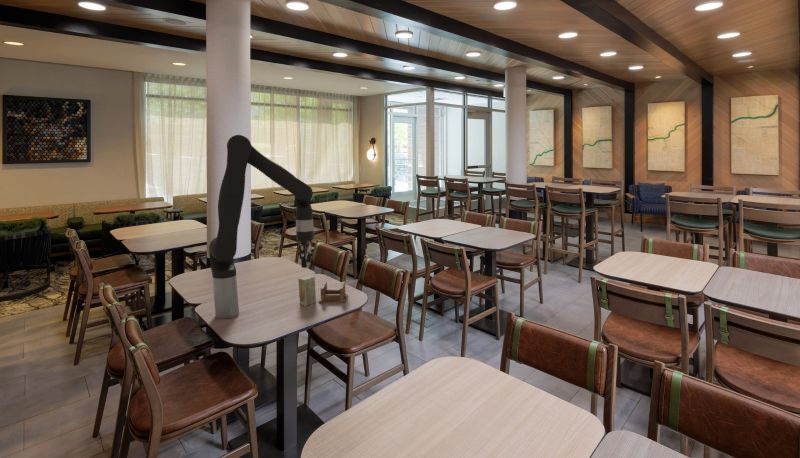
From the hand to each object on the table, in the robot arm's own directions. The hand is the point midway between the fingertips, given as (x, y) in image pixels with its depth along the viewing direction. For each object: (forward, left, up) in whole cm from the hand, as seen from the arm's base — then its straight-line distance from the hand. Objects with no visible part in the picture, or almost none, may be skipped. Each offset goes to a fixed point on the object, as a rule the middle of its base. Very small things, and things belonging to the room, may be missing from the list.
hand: (306, 264), depth 193 cm
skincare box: (0, 0, -18) cm, 18 cm away
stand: (+5, -11, -18) cm, 22 cm away
